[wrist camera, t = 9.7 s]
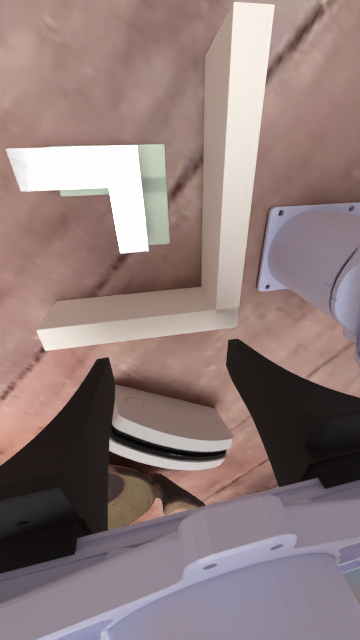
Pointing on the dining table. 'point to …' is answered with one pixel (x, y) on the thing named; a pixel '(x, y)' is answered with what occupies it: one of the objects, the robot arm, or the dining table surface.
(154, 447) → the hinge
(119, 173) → the bracket
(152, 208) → the mat
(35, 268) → the dining table surface
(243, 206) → the corner wall
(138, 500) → the brown frying pan
